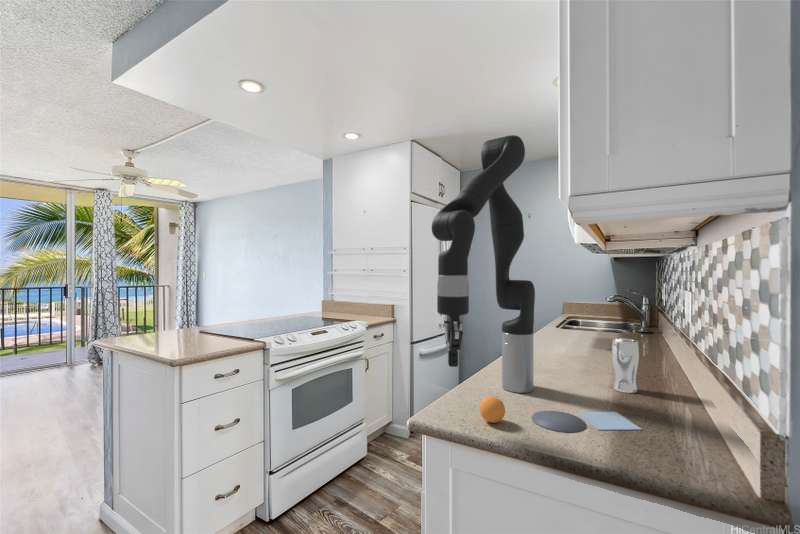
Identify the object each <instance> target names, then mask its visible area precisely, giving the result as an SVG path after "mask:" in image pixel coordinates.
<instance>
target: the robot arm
mask: <svg viewBox="0 0 800 534" xmlns="http://www.w3.org/2000/svg"><path fill="white" fill-rule="evenodd" d="M523 141H524V140H522V138H521V137H520V136H518V135H511V134H510V135H506V136H501V137H497V138H493V139H489V140H486V141H485V142H484V143H483V144H482V146H481V150H480V159H481V166H482V171H481V172H479V173H478V174H477V175H474V176H473V177H472V178H471V179H470V180H469V181H468V182H466V184H465V185H464V186H463V187H462V189H461V190H460V191H459V193H458V194H457V196H456V197H455V198H454V199H452V200H451V201H450V202H449V203H448V204H446V205H445V206H444V207H442V208H441V209H440V210H439V211H438V212H437V213H436V215H435V216H434V217H433V220H432V223H431V232H432V235H433V237H434V238H435V239H436V240H438V241H440V242H451V243H450V247H449V248H448V249H445V250H444V251H442V252H440V253H439V254H438V265H437V267H438V268H437V270H438V271H437V272H438V277H437V289H436V291H437V292H436V294H437V295H436V296H437V298H436V300H437V305H436V308H437V310H436V311H437V313H438V314H440V315H444V316H446V317H445V319H446V320H444V321H443V327H444V338H445V344H446V345H445V346H446V349H447V365H448V366H449V367H451V368H452V367H453V368H456V367H458V366H459V351H460V350H461V348H462V347H461V346H462V340H463V335H464V332H463V322H461V318H460V317H461V316H465V315H468V314H469V310H470V308H469V307H470V305H469V303H470V301H469V300H470V299H469V295H470V294H469V292H470V287H469V286H470V285H469V277H468V274H469V273H468V272H469V271H468V269H469V265H468V263H469V261H468V259H469V255H470V251H471V246H472V243H473V239H474V236H475V231H476V224H475V219H474V218H475V217H477V216H478V215H479V214H480V212H482V210H483V208H484V207H485V205H486V204H487V202H488V208H489V218H490V219H489V221H490V231H491V238H492V239H491V240H492V245H493V253H494V265H495V267H494V268H495V295H496V296H495V297H496V301H497V305H498V306H499V308H500V309H502V310H509V311H510V310H513V311H519V316H517V317H515V318H513V319H512V318H511V319H509V320H505V321H503V322H502V325H501V351H502V352H501V384H502V385H501V387H502V389H504V390H506V391H507V392H512V393H519V394H520V393H521V394H523V393H525V394H526V393H530V392H533V390H534V386H535V385H534V375H535V374H534V373H535V372H534V370H535V369H534V325H535V324H534V323H535V305H536V304H535V301H536V290H535V286H534V283H533V282H532V281H531V280H528V279H525V280H523V279H510V269H511V265H512V262H513V259H514V258H515V257H516V255H517V253H518V251H519V250H520V247H522V244H523V241H524V238H525V228H524V218H523V214H522V212H521V209H520V208H519V206H518V205H517V203H515V201H514V199H513V198H512V197H511V195H510V194H509V193H508V192H507V189H506V187H505V184H504V182H505V181H506V180H508V178H509V177H510V176H511V175H512V174H513V173H514V172H515V171H516V170H517V169H519V168H520V166H521V165H522V163H523V162H524V160H525V156H526V148H525V144H524V142H523Z"/></svg>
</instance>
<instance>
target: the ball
mask: <svg viewBox="0 0 800 534" xmlns="http://www.w3.org/2000/svg"><path fill="white" fill-rule="evenodd" d="M479 413H480V416H481V418H483V420H485V421H487V422H488V423H491V424H495V423H499V422H500V421H502V420H503V418H504V417H505V415H506V407H505V404H504V403H503V401H502V399H501V398H499V397H498V396H492V395H489V396H486V397H484V398H483V399H482V400H481V402H480V404H479Z"/></svg>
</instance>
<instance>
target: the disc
mask: <svg viewBox="0 0 800 534" xmlns="http://www.w3.org/2000/svg"><path fill="white" fill-rule="evenodd" d="M531 419H532V421H533V423H535V424H536V425H537V426H539V427H541V428H544V429H546V430H550V431H554V432H559V433H578V432H581V431H584V430H586V427H587V424H586V422H585V420H583V419H582V418H580V417H579V416H577V415H574V414H571V413H569V412H568V413H567V412H563V411H558V410H540V411H536V412H534V413H533V414H532V415H531Z"/></svg>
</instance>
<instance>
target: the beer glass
mask: <svg viewBox="0 0 800 534" xmlns="http://www.w3.org/2000/svg"><path fill="white" fill-rule="evenodd" d="M611 343H612V345H611V359H612V365H613V371H614V383H613V389H614V390H615V391H617V392H621V393H625V394H635V393H637V392H638V388H637V381H636V376H637V372H638V367H639V359H640V352H639V351H640V350H639V340H636V339H631V338H622V337H619V338H616V337H615V338H613V339H612V342H611Z"/></svg>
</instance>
